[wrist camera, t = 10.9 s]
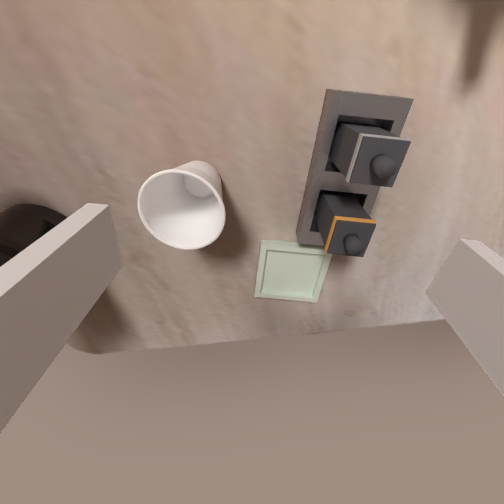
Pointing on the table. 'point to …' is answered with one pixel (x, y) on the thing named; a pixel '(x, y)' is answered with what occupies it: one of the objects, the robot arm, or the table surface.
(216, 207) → the cup
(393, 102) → the strip
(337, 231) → the plug
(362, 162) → the twin plug
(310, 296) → the tray
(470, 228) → the table surface
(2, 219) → the robot arm
